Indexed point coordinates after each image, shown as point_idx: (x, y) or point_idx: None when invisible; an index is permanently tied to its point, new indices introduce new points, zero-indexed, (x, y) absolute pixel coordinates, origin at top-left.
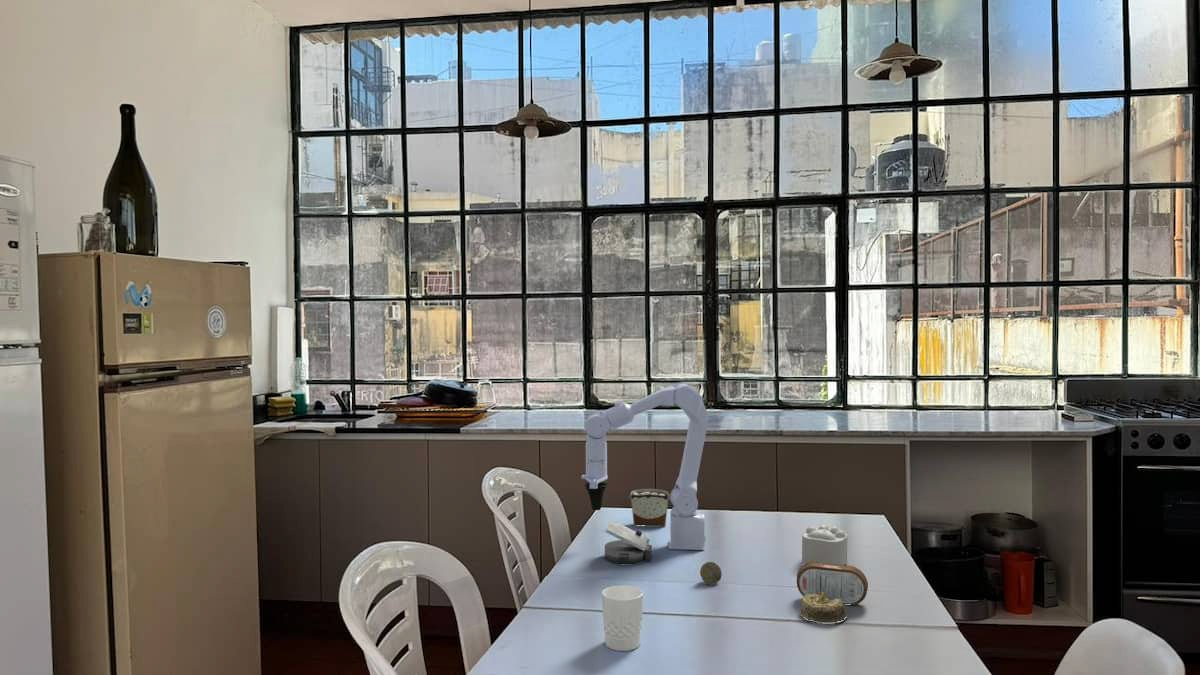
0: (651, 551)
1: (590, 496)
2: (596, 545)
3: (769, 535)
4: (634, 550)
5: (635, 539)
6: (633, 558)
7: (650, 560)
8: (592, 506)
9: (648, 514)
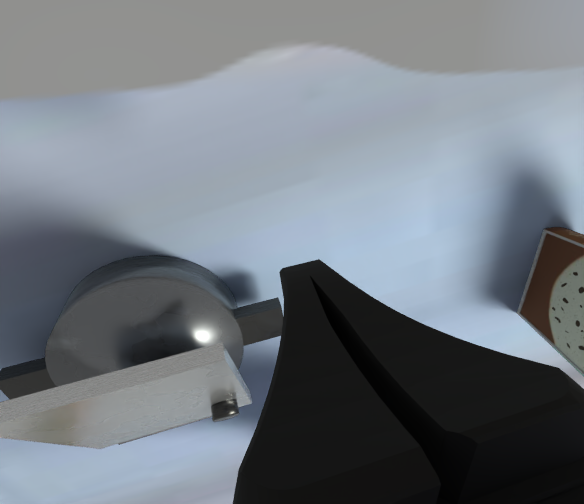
0: None
1: (276, 363)
2: (287, 171)
3: None
4: None
5: (132, 428)
6: None
7: None
8: (284, 287)
9: (567, 295)
